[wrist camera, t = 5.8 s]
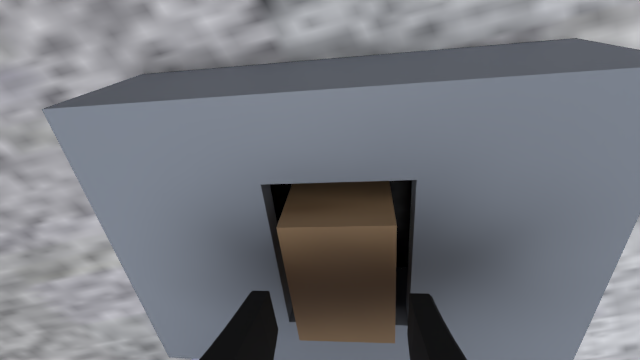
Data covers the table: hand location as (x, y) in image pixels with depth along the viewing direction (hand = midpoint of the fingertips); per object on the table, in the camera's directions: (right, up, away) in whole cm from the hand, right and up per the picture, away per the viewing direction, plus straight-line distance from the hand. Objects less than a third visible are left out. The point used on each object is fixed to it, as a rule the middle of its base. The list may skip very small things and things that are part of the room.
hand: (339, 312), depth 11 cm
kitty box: (+1, +4, +7) cm, 8 cm away
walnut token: (0, +2, +4) cm, 4 cm away
